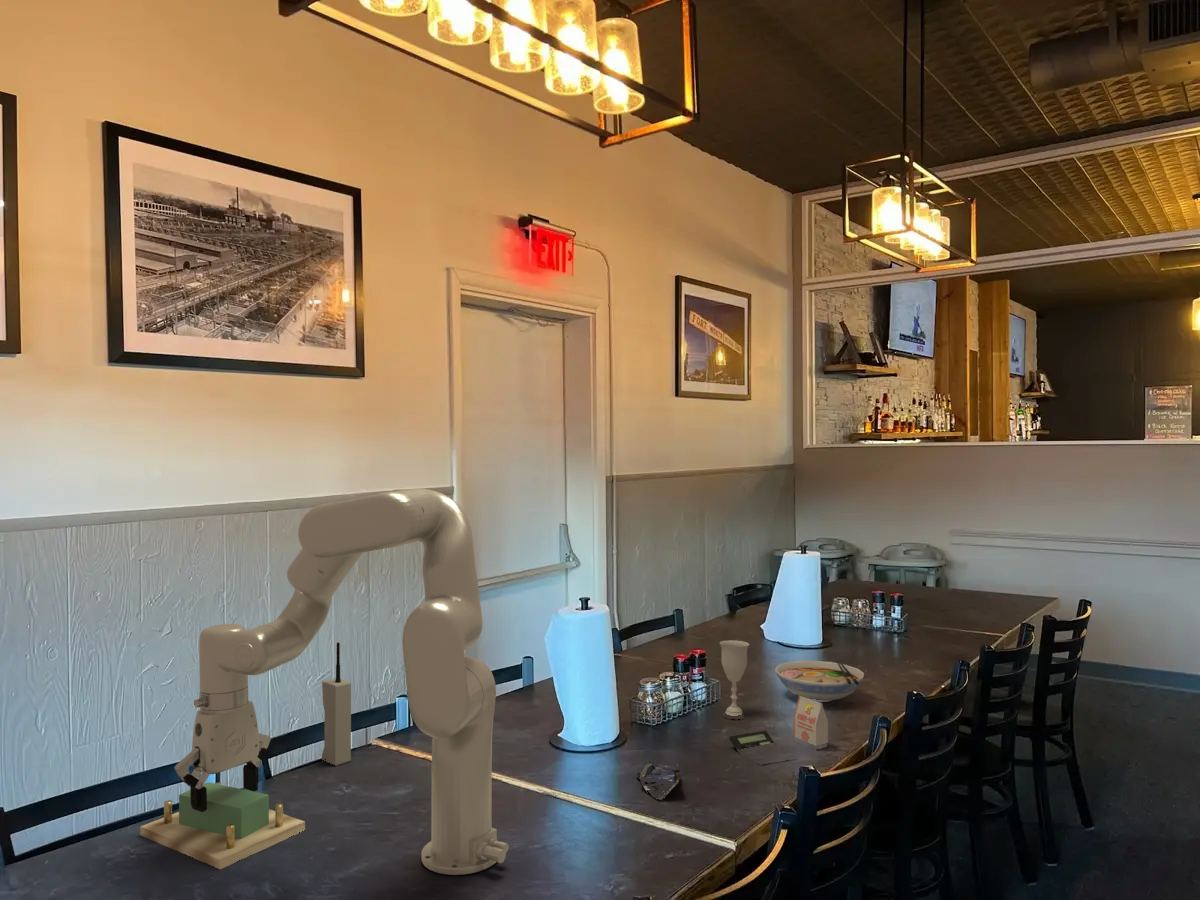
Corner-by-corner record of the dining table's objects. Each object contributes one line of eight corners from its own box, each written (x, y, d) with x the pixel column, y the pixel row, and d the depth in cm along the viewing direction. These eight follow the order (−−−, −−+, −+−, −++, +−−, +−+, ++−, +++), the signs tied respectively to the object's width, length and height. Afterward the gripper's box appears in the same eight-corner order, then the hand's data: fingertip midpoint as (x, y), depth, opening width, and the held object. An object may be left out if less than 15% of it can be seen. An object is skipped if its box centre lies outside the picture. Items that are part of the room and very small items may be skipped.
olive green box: (268, 824, 144) (268, 794, 144) (241, 838, 139) (241, 808, 139) (207, 810, 150) (207, 782, 150) (179, 824, 144) (179, 794, 144)
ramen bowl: (771, 684, 237) (771, 655, 237) (856, 687, 234) (856, 658, 234) (778, 711, 212) (778, 678, 212) (872, 715, 209) (872, 682, 209)
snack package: (617, 795, 162) (674, 805, 156) (619, 760, 163) (675, 769, 157) (644, 785, 172) (698, 794, 167) (645, 752, 173) (699, 760, 168)
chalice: (753, 715, 209) (753, 642, 209) (742, 723, 203) (742, 648, 203) (725, 710, 213) (726, 639, 213) (714, 718, 207) (714, 644, 207)
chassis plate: (305, 830, 145) (305, 801, 145) (220, 869, 132) (220, 837, 132) (225, 802, 157) (225, 775, 157) (140, 835, 143) (140, 805, 143)
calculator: (760, 767, 176) (760, 752, 176) (729, 749, 186) (729, 735, 186) (797, 760, 180) (797, 746, 180) (764, 743, 190) (764, 729, 190)
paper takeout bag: (805, 738, 192) (805, 694, 192) (827, 747, 187) (827, 702, 187) (793, 741, 190) (793, 697, 190) (815, 750, 185) (815, 704, 185)
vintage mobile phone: (337, 756, 181) (337, 638, 181) (351, 761, 178) (351, 642, 178) (321, 761, 178) (321, 641, 178) (335, 766, 175) (335, 645, 175)
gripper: (189, 715, 135) (191, 823, 135) (281, 689, 150) (283, 786, 150) (162, 709, 139) (163, 813, 139) (254, 683, 154) (256, 778, 154)
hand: (225, 799), depth 144 cm, fingers open, 9 cm apart
